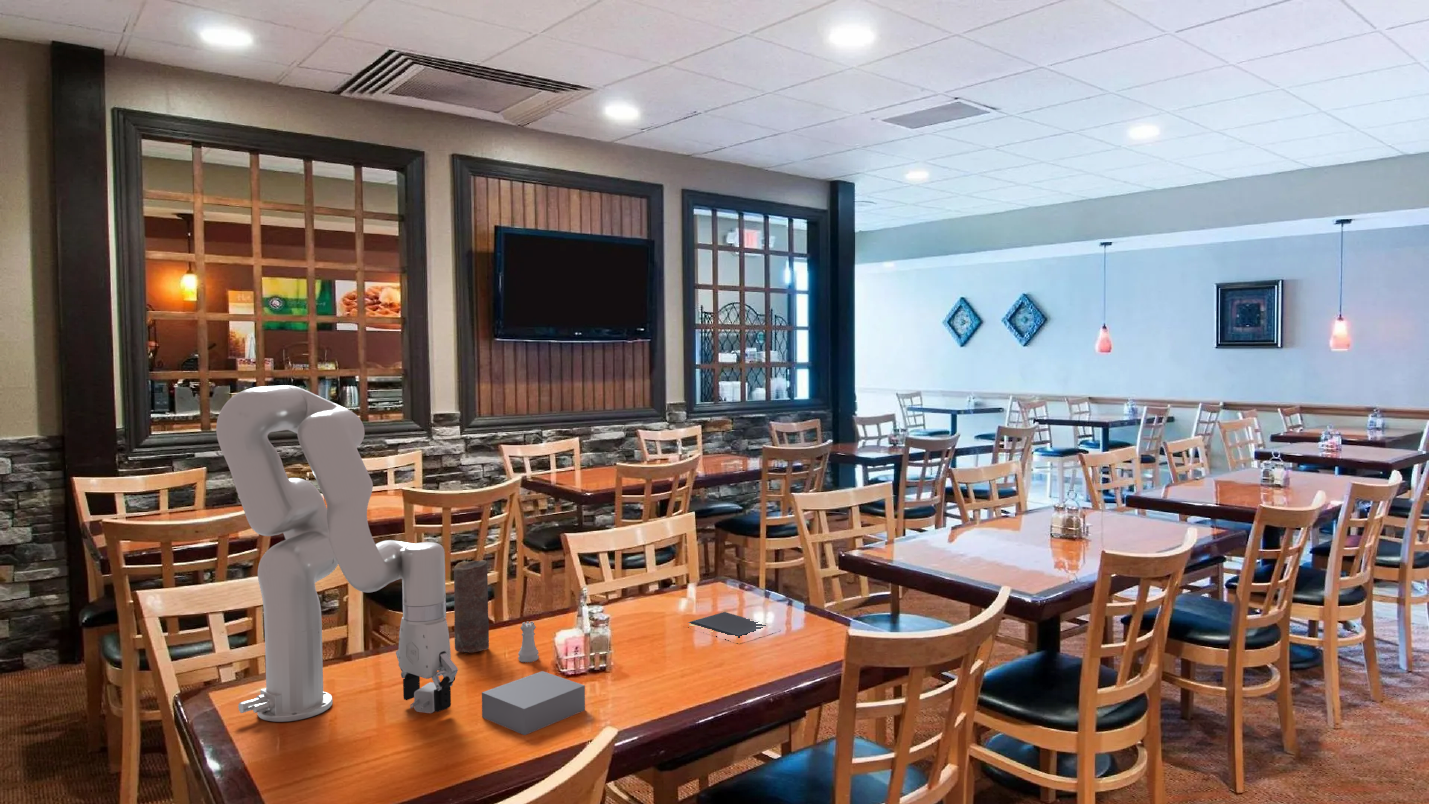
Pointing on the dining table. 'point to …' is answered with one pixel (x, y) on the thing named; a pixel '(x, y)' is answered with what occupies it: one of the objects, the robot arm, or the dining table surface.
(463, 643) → the dark brown rough pillar
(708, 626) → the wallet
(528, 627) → the rook chess piece
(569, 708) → the base block
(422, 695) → the usb wall charger
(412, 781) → the dining table surface
